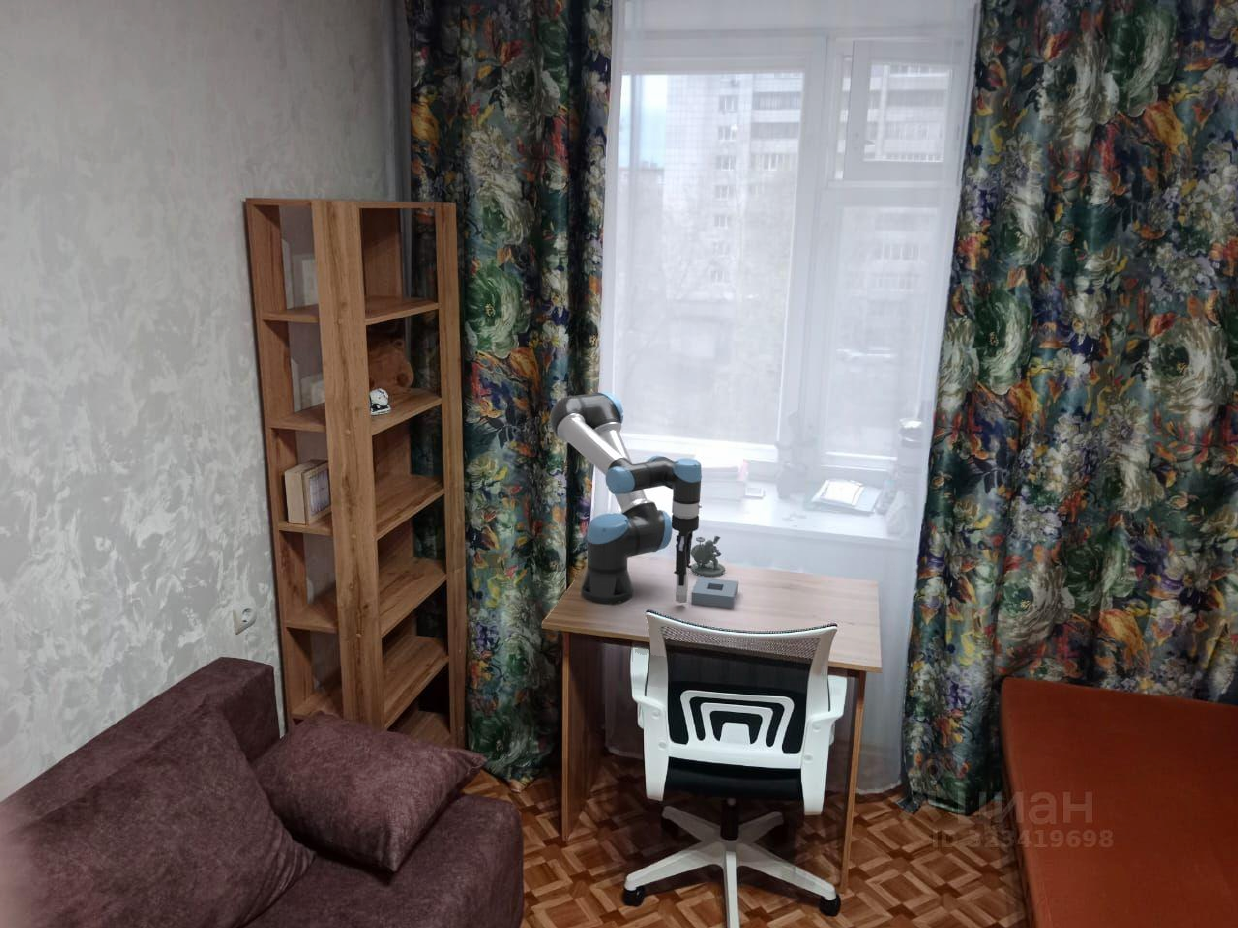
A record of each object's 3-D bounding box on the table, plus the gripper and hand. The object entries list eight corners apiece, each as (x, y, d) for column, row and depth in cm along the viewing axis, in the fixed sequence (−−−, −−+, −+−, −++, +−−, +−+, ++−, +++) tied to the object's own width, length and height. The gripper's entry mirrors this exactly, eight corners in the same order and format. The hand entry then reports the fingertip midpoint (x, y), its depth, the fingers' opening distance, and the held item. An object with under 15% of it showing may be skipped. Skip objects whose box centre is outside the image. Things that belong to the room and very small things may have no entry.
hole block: (691, 603, 265) (691, 592, 264) (697, 587, 276) (698, 576, 276) (732, 608, 263) (733, 596, 262) (737, 591, 274) (738, 580, 273)
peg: (675, 602, 262) (676, 569, 259) (677, 597, 265) (678, 565, 262) (685, 603, 261) (687, 570, 258) (687, 599, 264) (689, 566, 261)
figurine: (729, 576, 286) (731, 539, 282) (696, 578, 283) (697, 542, 280) (718, 563, 296) (719, 528, 292) (686, 565, 293) (687, 530, 290)
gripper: (694, 525, 247) (690, 605, 254) (703, 507, 262) (699, 583, 269) (667, 522, 249) (663, 602, 256) (677, 504, 263) (673, 580, 270)
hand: (681, 592), depth 262 cm, fingers closed on peg, 2 cm apart
